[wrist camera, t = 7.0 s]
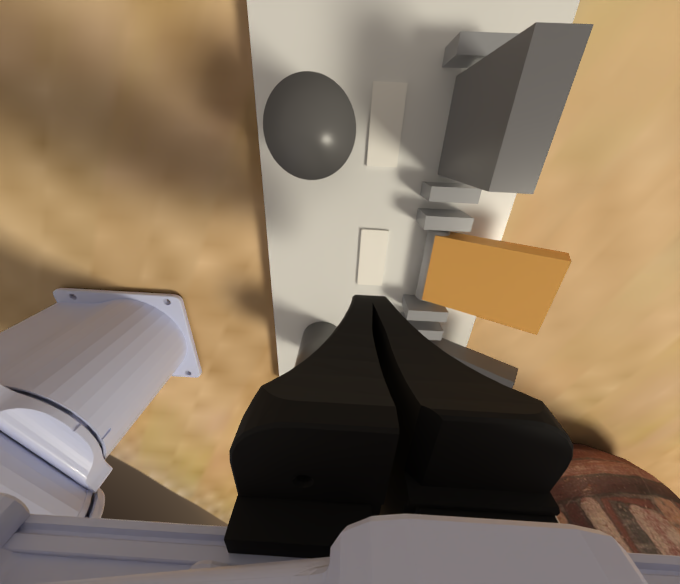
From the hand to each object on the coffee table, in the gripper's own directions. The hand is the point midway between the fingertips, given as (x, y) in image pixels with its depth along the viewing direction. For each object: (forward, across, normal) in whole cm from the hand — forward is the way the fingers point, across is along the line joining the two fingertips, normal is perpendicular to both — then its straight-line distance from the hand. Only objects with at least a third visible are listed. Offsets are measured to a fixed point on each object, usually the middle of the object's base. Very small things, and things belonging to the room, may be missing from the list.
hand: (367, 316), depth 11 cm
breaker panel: (+8, -1, 0) cm, 8 cm away
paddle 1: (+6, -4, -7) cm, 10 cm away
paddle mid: (+6, -4, 0) cm, 7 cm away
